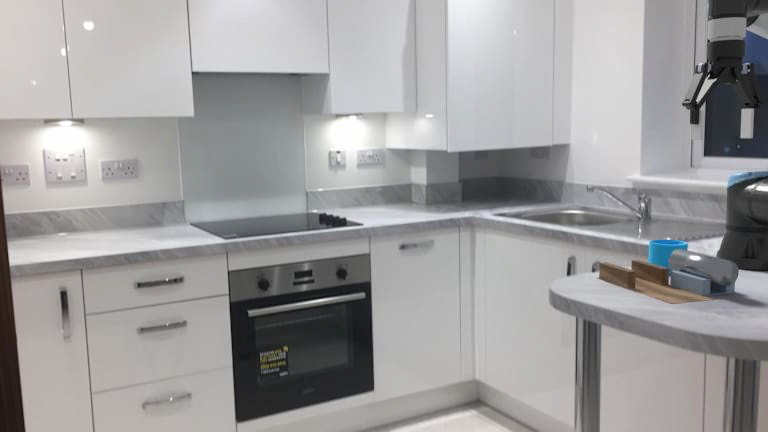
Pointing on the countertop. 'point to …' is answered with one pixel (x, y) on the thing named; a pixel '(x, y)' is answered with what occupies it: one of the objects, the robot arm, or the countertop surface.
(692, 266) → the axle
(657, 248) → the mug
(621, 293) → the countertop surface
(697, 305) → the countertop surface
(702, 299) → the wooden channel tray
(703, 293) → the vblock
